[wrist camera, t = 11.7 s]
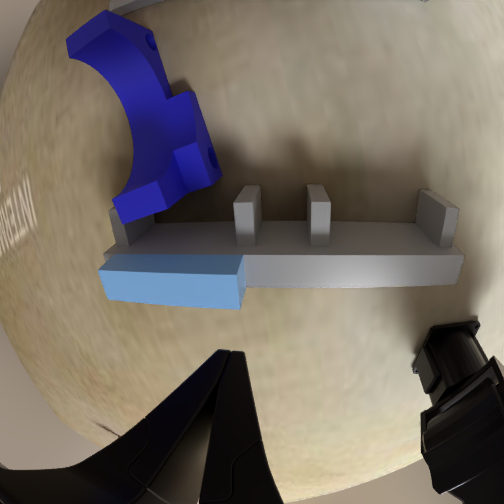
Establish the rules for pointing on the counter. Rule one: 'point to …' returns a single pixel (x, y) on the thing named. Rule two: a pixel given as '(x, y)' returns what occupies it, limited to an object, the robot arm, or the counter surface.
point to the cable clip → (148, 116)
